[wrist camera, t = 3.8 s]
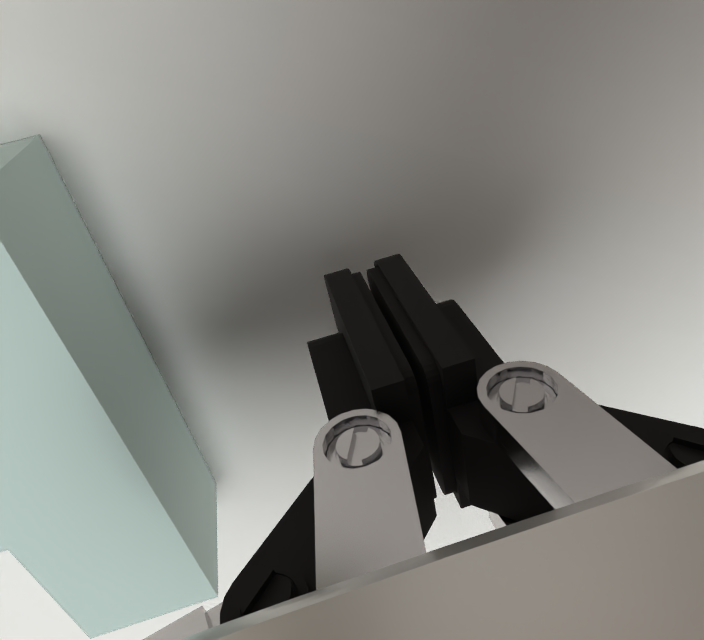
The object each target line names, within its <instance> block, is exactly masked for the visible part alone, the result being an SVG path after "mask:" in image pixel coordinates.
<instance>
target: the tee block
mask: <svg viewBox="0 0 704 640" xmlns="http://www.w3.org/2000/svg"><path fill="white" fill-rule="evenodd" d="M6 550H9V551H10V553H11V554H12V555H13V556H14V557H15V558H16V559H17V560H18V561H19V562H20V563H21V564H22V565H23V567H24V568H25V569H26V570H27V571H28V572H29V573H30V574H31V575H32V576H33V577H34V578H35V580H36V581H37V582H38V583H39V584H40V585H41V586H42V587H43V588H44V589H45V590H46V591H47V593H48V594H49V595H50V596H51V597H52V598H53V599H54V600H55V601H56V602H57V603H58V604H59V605H60V607H61V608H62V609H63V610H64V611H65V612H66V613H67V614H68V615H69V616H70V617H71V618H72V620H73V621H74V622H75V623H76V624H77V625H78V626H79V627H80V628H81V629H82V630H83V631H84V633H85V634H86V635H87V636H88V637H89V638H90V639H91V638H94V637H97V636H100V635H103V634H106V633H109V632H112V631H115V630H118V629H121V628H124V627H127V626H130V625H133V624H136V623H139V622H142V621H146V620H149V619H152V618H155V617H158V616H161V615H164V614H167V613H170V612H173V611H176V610H179V609H182V608H185V607H188V606H191V605H194V604H197V603H200V602H203V601H206V600H209V599H212V598H215V597H218V565H217V502H216V482H215V480H214V478H213V476H212V474H211V472H210V470H209V468H208V466H207V464H206V462H205V460H204V458H203V456H202V454H201V453H200V451H199V449H198V447H197V445H196V443H195V441H194V439H193V437H192V435H191V433H190V431H189V429H188V427H187V425H186V423H185V421H184V419H183V417H182V415H181V413H180V411H179V409H178V407H177V405H176V403H175V401H174V399H173V397H172V395H171V393H170V391H169V389H168V387H167V385H166V383H165V381H164V379H163V377H162V375H161V374H160V372H159V370H158V368H157V366H156V364H155V362H154V360H153V358H152V356H151V354H150V352H149V350H148V348H147V346H146V344H145V342H144V340H143V338H142V336H141V334H140V332H139V330H138V328H137V326H136V324H135V322H134V320H133V318H132V316H131V314H130V312H129V310H128V308H127V306H126V304H125V302H124V300H123V298H122V296H121V295H120V293H119V291H118V289H117V287H116V285H115V283H114V281H113V279H112V277H111V275H110V273H109V271H108V269H107V267H106V265H105V263H104V261H103V259H102V257H101V255H100V253H99V251H98V249H97V247H96V245H95V243H94V241H93V239H92V237H91V235H90V233H89V231H88V229H87V227H86V225H85V223H84V221H83V219H82V217H81V216H80V214H79V212H78V210H77V208H76V206H75V204H74V202H73V200H72V198H71V196H70V194H69V192H68V190H67V188H66V186H65V184H64V182H63V180H62V178H61V176H60V174H59V172H58V170H57V168H56V166H55V164H54V162H53V160H52V158H51V156H50V154H49V152H48V150H47V148H46V146H45V144H44V142H43V140H42V138H41V137H40V135H37V136H33V137H29V138H25V139H21V140H17V141H13V142H9V143H5V144H1V145H0V552H3V551H6Z"/></svg>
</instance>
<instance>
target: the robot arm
mask: <svg viewBox="0 0 704 640" xmlns="http://www.w3.org/2000/svg"><path fill="white" fill-rule="evenodd" d="M374 266H375V268H372V269H368V270H367V276H368V281H369V286H370V290H371V291H370V290H369V288H368V286H367V284H366V282H365V280H364V278H363V276H362V275H361V273H360V272H358V273H354V274H351V272H350V270H349V268H348V269H344V270H341V271H337V272H334V273H330V274H327V275H324V278H325V283H326V287H327V291H328V294H329V298H330V302H331V306H332V310H333V314H334V317H335V321H336V325H337V329H338V333H337V334H333V335H330V336H327V337H323V338H320V339H317V340H313V341H310V342H307V344H308V348H309V351H310V355H311V358H312V362H313V366H314V369H315V373H316V376H317V380H318V384H319V387H320V391H321V394H322V398H323V401H324V405H325V409H326V412H327V416H328V419H329V422H328V423H326V424H325V425H324V426H323V427H322V428H321V429H320V431H319V433H318V435H317V436H316V438H315V442H314V448H313V463H314V476H313V478H312V479H311V480H310V482H309V483H308V484H307V486H306V487H305V488H304V490H303V491H302V492H301V494H300V495H299V496H298V498H297V499H296V500H295V501H294V503H293V504H292V505H291V507H290V508H289V509H288V511H287V512H286V513H285V515H284V516H283V517H282V519H281V520H280V521H279V523H278V524H277V525H276V526H275V528H274V529H273V530H272V532H271V533H270V534H269V536H268V537H267V538H266V540H265V541H264V542H263V544H262V545H261V546H260V548H259V549H258V550H257V551H256V553H255V554H254V555H253V557H252V558H251V559H250V561H249V562H248V563H247V565H246V566H245V567H244V569H243V570H242V571H241V572H240V574H239V575H238V576H237V578H236V579H235V580H234V582H233V583H232V585H231V587H230V588H229V590H228V592H227V593H226V595H225V597H224V600H223V602H222V603H220V604H219V605H217V606H215V607H214V608H212V609H210V610H208V611H207V612H206V610H205V609H204V607H203V606H201V607H199V608H197V609H196V610H194V611H192V612H190V613H189V614H187V615H185V616H183V617H182V618H180V619H178V620H176V621H175V622H173V623H171V624H169V625H168V626H166V627H164V628H162V629H161V630H159V631H157V632H155V633H154V634H152V635H150V636H148V637H147V638H145V639H143V640H704V429H703V428H699V427H695V426H690V425H686V424H681V423H677V422H672V421H668V420H664V419H659V418H655V417H650V416H646V415H641V414H637V413H633V412H628V411H624V410H619V409H615V408H610V407H606V406H602V405H598V404H596V403H595V402H594V401H593V400H592V399H590V398H589V397H588V396H587V395H585V394H584V393H583V392H582V391H580V390H579V389H578V388H577V387H575V386H574V385H573V384H572V383H570V382H569V381H568V380H567V379H566V378H564V377H563V376H562V375H561V374H559V373H558V372H556V371H555V370H553V369H551V368H550V367H548V366H545V365H542V364H539V363H536V362H528V361H515V362H507V363H504V362H503V361H502V360H501V359H500V357H499V356H498V355H497V354H496V352H495V351H494V350H493V349H492V347H491V346H490V345H489V343H488V342H487V341H486V340H485V338H484V337H483V336H482V335H481V333H480V332H479V331H478V329H477V328H476V327H475V326H474V324H473V323H472V322H471V321H470V319H469V318H468V317H467V316H466V314H465V313H464V312H463V310H462V309H461V308H460V307H459V305H458V304H457V303H456V302H455V301H454V300H448V301H444V302H441V303H438V304H436V303H435V302H434V301H433V299H432V298H431V296H430V295H429V294H428V292H427V291H426V290H425V288H424V287H423V285H422V284H421V283H420V281H419V280H418V278H417V277H416V276H415V274H414V273H413V271H412V270H411V269H410V267H409V266H408V265H407V263H406V262H405V260H404V259H403V258H402V256H401V255H400V254H397V255H393V256H390V257H386V258H383V259H379V260H376V261H375V262H374ZM432 470H433V471H432ZM433 473H434V475H435V477H436V479H437V481H438V483H439V485H440V488H441V490H442V492H443V493H444V494H445V495H446V494H449V493H452V492H453V493H454V495H455V497H456V499H457V501H458V503H459V505H460V507H461V508H464V507H467V506H470V505H473V506H476V507H479V508H481V509H484V510H487V511H489V518H490V520H491V522H492V524H493V526H494V527H495V530H492V531H489V532H486V533H484V534H481V535H478V536H475V537H472V538H469V539H466V540H463V541H460V542H457V543H454V544H451V545H448V546H445V547H442V548H439V549H436V550H433V551H430V552H427V553H426V549H425V544H424V539H425V537H426V535H427V533H428V531H429V529H430V527H431V525H432V524H433V522H434V520H435V518H436V516H437V514H436V509H435V503H434V498H436V497H437V495H436V489H435V483H434V477H433Z"/></svg>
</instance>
